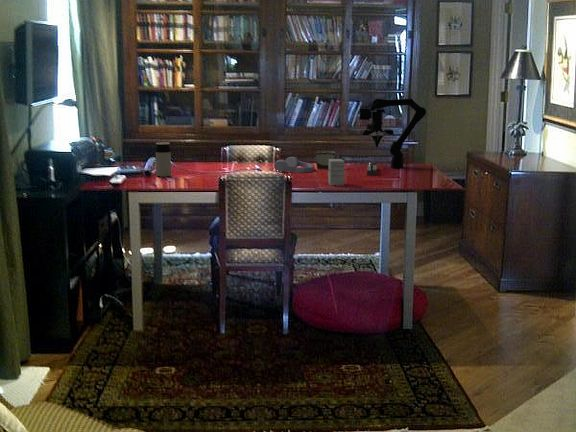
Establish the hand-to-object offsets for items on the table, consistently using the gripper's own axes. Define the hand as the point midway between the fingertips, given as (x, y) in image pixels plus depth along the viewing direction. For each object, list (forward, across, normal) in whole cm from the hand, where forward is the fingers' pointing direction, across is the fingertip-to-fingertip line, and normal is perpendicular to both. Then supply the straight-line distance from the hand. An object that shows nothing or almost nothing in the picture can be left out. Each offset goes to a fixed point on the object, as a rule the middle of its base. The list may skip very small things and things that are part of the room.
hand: (376, 147), depth 466 cm
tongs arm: (+12, +8, +19) cm, 24 cm away
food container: (+12, +30, -2) cm, 32 cm away
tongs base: (+12, +8, +16) cm, 22 cm away
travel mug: (+12, +124, +8) cm, 125 cm away
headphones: (+12, +48, +2) cm, 50 cm away
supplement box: (+12, +40, +55) cm, 69 cm away
